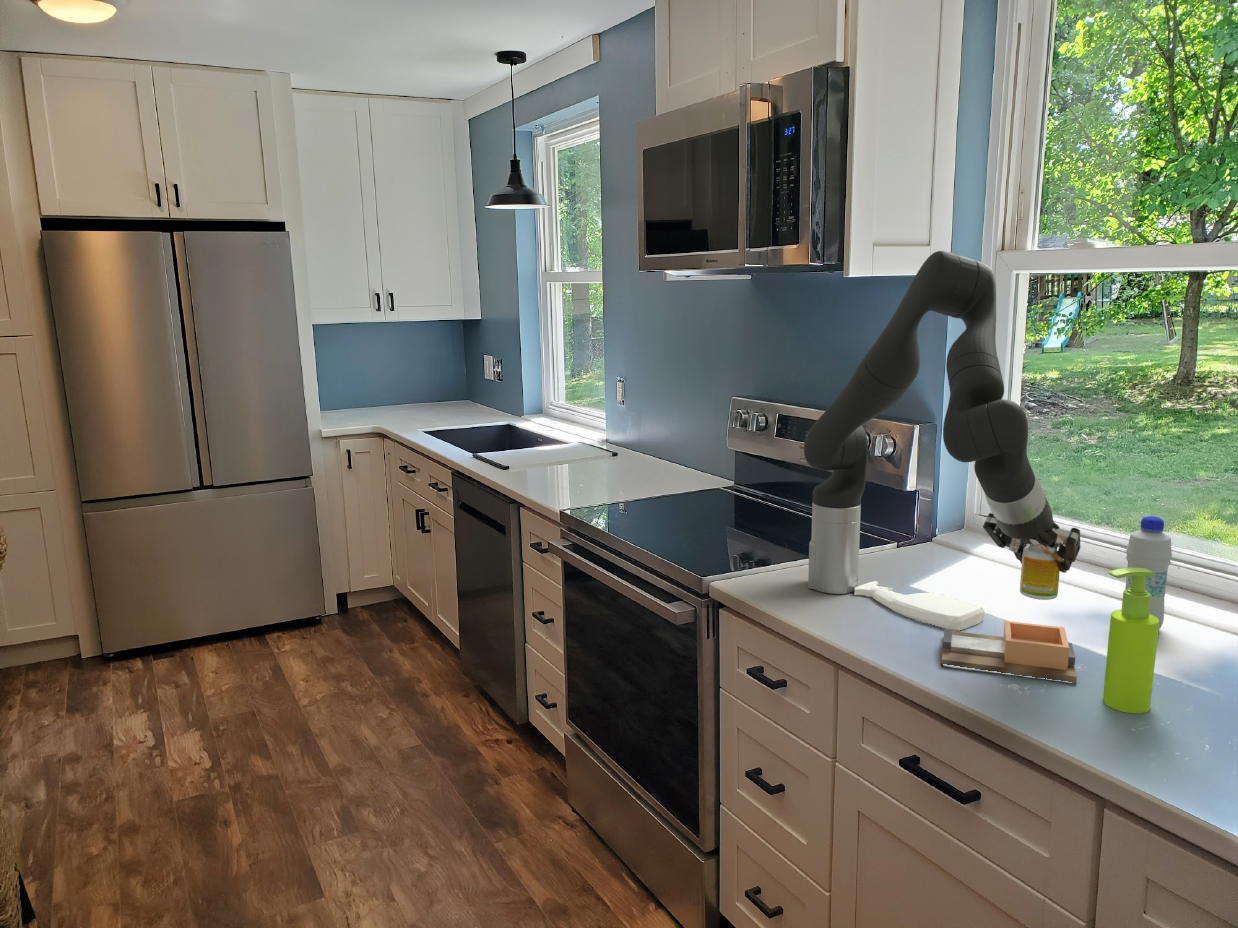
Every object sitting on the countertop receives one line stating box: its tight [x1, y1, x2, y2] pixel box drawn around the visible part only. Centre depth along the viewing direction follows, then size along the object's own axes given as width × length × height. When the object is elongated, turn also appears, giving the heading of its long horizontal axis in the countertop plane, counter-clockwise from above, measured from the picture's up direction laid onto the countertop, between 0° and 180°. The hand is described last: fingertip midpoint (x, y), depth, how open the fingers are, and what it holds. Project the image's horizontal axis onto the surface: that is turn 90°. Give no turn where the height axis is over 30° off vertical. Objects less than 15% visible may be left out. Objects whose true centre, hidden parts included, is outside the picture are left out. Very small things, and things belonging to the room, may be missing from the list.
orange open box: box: [1002, 620, 1069, 670], centre depth 141 cm, size 9×9×4 cm
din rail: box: [942, 628, 1076, 667], centre depth 143 cm, size 19×6×2 cm, turn 68°
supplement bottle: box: [1019, 544, 1061, 601], centre depth 139 cm, size 5×5×10 cm
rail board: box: [941, 631, 1078, 684], centre depth 143 cm, size 19×13×1 cm
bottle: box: [1124, 515, 1173, 631], centre depth 153 cm, size 7×7×20 cm
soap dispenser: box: [1102, 567, 1160, 715], centre depth 125 cm, size 6×7×20 cm
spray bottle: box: [853, 580, 986, 632], centre depth 167 cm, size 3×11×24 cm
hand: (1045, 563), depth 140 cm, fingers closed on supplement bottle, 5 cm apart
